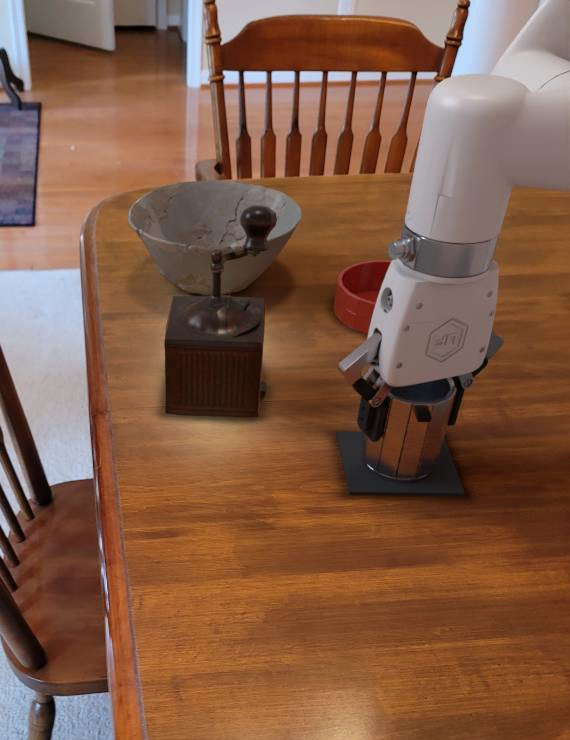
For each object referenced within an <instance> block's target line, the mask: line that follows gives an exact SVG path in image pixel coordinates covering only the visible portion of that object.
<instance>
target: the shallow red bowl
mask: <svg viewBox="0 0 570 740" xmlns="http://www.w3.org/2000/svg"><path fill="white" fill-rule="evenodd" d="M391 261H392V259H391V260H390V259H389V260H388V259H387V260H385V259H383V260H382V259H378V260H377V259H373V260H367V261H366V260H365V261H360V262H356V263H354V264H351V265H348V266H347V267H345V268H344V269H343V270H341V271H340V272H339V275H338V277H337V280H336V287H335V294H334V302H333V312H334V315H335V317H336V318H337V320H339V322H341V323H342V324H343V325H345V326H347V328H350V329H352V330H353V331H354V330H355V331H357V332H359V333H363V334H366V335H368V332H369V328H370V323H371V319H372V315H373V311H374V308H375V305H376V301H377V298H378V295H379V292H380V289H381V286H382V283H383V280H384V278H385V275H386V273H387V270H388V268H389V266H390V263H391Z"/></svg>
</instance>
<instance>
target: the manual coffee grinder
mask: <svg viewBox="0 0 570 740" xmlns="http://www.w3.org/2000/svg"><path fill="white" fill-rule="evenodd" d="M276 222H277V217H276V213H275V212H274V211H272V210H271V209H270V208H269V207H267V206H262V205H253V206H250V207H249V208H247V209H245V210H243V212H242V214H241V216H240V224H241V226H242V227H243V229H244V231H245V233H246V236H247V238H246V241H245V244H244V245H243V249H244V250H241V251H236V252H230V253H224V254H223V253H222V251H220V250H215V251H213V252H212V253H211V255H210V259H211V261H212V263H211V264H210V267H211V268H210V272H212V295H173V296H172V298H171V299H172V300H171V304H170V308H169V312H168V315H167V320H166V323H165V333H164V340H163V341H164V342H163V343H164V344H163V345H164V346H163V347H164V373H165V374H164V376H165V377H164V378H165V380H164V383H165V386H164V387H165V408H164V414H168V415H178V416H193V417H194V416H195V417H197V416H198V417H218V418H219V417H220V418H243V419H246V418H247V419H249V418H251V419H252V418H259V417H260V411H261V404H262V401H263V398H264V397H265V396H266V394H267V383H266V382H265V381H262V378H263V377H262V376H263V359H264V354H263V353H264V344H265V343H264V342H265V327H266V326H265V324H266V306H265V305H266V304H265V298H264V297H253V296H252V297H249V296H231V294H224V295H221V273H222V272H223V271H224V266H223V263H224V262H226V261H229V260H235V259H239V258H242V257H245V256H247V255H252V256H254V257H255V256H256V255H257V254H260V252H262V251H267V250H269V246H268V243H267V237H268V235H269V234H270V232H271V231H272V229H273V228H274V227H275V226H276Z"/></svg>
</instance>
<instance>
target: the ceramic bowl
mask: <svg viewBox="0 0 570 740" xmlns="http://www.w3.org/2000/svg"><path fill="white" fill-rule="evenodd" d="M253 205H262V206H267V207H269V208H270V209H271V210H272V211H274V212H275V213H276V217H277V222H276V226H275V227H274V228H273V229H272V231H271V232H270V234H269V235H268V237H267V243H268V246H269V250H267V251H262V252H260V254H257V255H256V256H255V257H254V256H252V255H247V256H245V257H242V258H239V259H235V260H229V261H226V262H224V263H223V266H224V271H223V272H222V273H221V295H230V294H235V293H237V292H240V291H242V290H245V289H246V288H247V287H249V285H251V284H252V283H254V282H255V281H256V280H257V279H258V278H259V277H261V275H263V273H264V272H265V271H266V270H267V269H268V268H269V267H270V265H272V263H273V262H274V261H275V260H276V258H277V257H278V256H279V255H280V254H281V252H282V250H283V249H284V248H285V246H286V245H287V243H288V242H289V240H290V239H291V237H292V235H293V234H294V232H295V231H296V229H297V227H298V226H299V224H300V222H301V220H302V208H301V206H299V204H298V203H297V202H296V201H295V200H294V199H293V198H292V197H289V196H288V194H286V193H284V192H282V191H280V190H277V189H274V188H269V187H265V186H263V185H259V184H252V183H247V182H240V181H231V180H212V179H203V180H195V181H193V180H192V181H181V182H175V183H172V184H165V185H163V186H159V187H157V188H154V189H152V190H149V191H148V192H146V193H145V194H143V195H142V196H141V197H139V198H138V199H137V200H136V201H135V202H134V203H133V204H132V205H131V207H130V208H129V212H128V216H127V220H128V221H127V222H128V224H129V226H130V228H131V229H132V231H133V232H134V233H135V234H136V236H137V237H138V238H139V239H140V240H141V242H142V243H143V245H144V247H145V248H146V250H147V252H148V253H149V255H150V256H151V258H152V260H153V262H154V264H155V266H156V267H157V270H158V272H159V274H160V275H161V276H162V277H163V278H164V279H166V280H167V281H169V283H171V284H173V285H174V286H175V287H177V288H179V289H180V290H181V291H183V292H186V293H189V294H198V295H200V296H211V295H212V272H210V268H211V267H210V264H211V263H212V261H211V259H210V255H211V253H212V252H213V251H215V250H220V251H222V253H223V254H224V253H230V252H236V251H241V250H244V249H243V245H244V244H245V241H246V238H247V236H246V233H245V231H244V229H243V227H242V226H241V224H240V216H241V214H242V212H243V210H245V209H247V208H249V207H250V206H253Z"/></svg>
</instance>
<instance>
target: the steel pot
mask: <svg viewBox="0 0 570 740" xmlns="http://www.w3.org/2000/svg"><path fill="white" fill-rule="evenodd" d="M381 380H382V378H381V376H380V377H379V379H378V380H377V381H376V383H375V384H374V386H373V388H374V389H376V387H377V386H378V384H379V383H380V382H381ZM456 390H457V388H456V386H455V383H454V381H453V379H452V377H450V378H445V379H440V380H435V381H430V382H425V383H419V384H414V385H409V386H402V387H393V388H392V390H391V391H390V392H389V394H388V395H387V397H386V398H385V399H384V401H383V403H384V404H385V405H386V408H387V409H386V414H385V419H384V424H383V429H382V434H381V438H380V439H379V441H376V442H372V441H371V440H370V439H369V438H368V437H367V435H366V434H364V439H363V445H362V450H361V451H362V456H361V457H362V462H363V464H364V466H365V467H366V468H367V469H368V470H369V471H370V472H371V473H373V474H374V475H376V476H378V477H380V478H382V479H385V480H388V481H392V482H399V483H411V482H417V481H421V480H423V479H425V478H427V477H429V476H430V475H431V474H432V473H433V471H434V469H435V466H436V464H437V461H438V458H439V454H440V450H441V447H442V443H443V439H444V438H445V435H446V431H447V427H448V425H447V424H448V420H449V417H450V413H451V409H452V405H453V402H454V398H455V394H456Z"/></svg>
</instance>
